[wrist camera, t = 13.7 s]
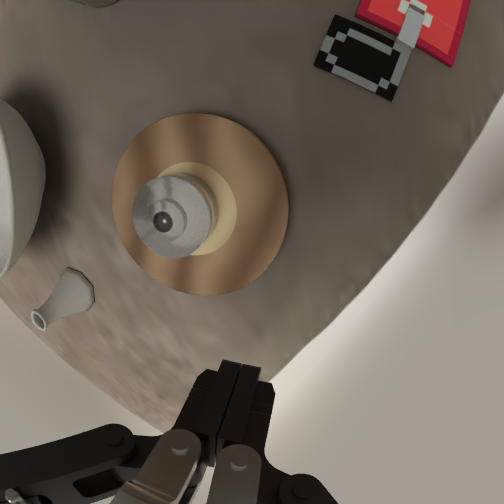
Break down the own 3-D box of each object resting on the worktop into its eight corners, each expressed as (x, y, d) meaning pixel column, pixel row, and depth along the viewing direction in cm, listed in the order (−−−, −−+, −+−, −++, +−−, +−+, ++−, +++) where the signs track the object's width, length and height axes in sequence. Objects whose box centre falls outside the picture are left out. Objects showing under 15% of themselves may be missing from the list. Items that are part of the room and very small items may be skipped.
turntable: (126, 267, 39) (115, 276, 36) (127, 112, 31) (114, 112, 29) (274, 300, 36) (271, 312, 34) (302, 124, 28) (301, 123, 26)
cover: (151, 242, 34) (130, 257, 29) (147, 171, 30) (123, 178, 26) (218, 249, 32) (204, 267, 28) (219, 172, 29) (203, 180, 25)
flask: (92, 316, 44) (55, 352, 35) (60, 292, 44) (22, 322, 35) (99, 284, 41) (57, 319, 32) (65, 259, 41) (21, 288, 32)
